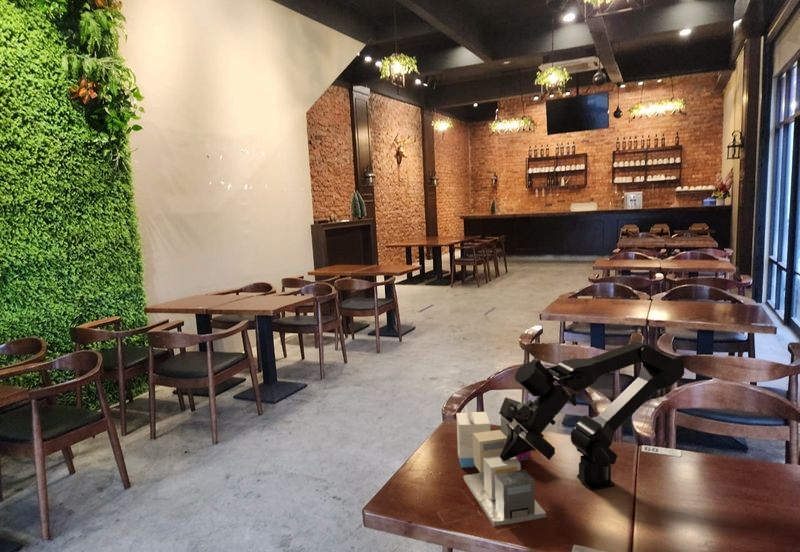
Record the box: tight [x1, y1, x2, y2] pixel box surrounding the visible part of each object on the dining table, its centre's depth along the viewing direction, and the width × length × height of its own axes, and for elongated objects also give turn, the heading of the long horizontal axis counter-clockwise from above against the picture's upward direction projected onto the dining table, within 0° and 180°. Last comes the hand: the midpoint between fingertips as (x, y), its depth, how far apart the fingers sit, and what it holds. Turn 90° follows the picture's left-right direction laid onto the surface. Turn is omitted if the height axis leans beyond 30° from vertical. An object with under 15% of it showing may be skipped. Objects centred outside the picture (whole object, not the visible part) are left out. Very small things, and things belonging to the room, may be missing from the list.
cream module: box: [484, 455, 522, 500], centre depth 120 cm, size 7×5×8 cm
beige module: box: [473, 429, 507, 473], centre depth 126 cm, size 7×5×8 cm
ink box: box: [455, 406, 492, 469], centre depth 139 cm, size 9×8×13 cm
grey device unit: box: [463, 469, 547, 527], centre depth 120 cm, size 12×20×9 cm, turn 11°
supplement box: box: [500, 414, 532, 463], centre depth 139 cm, size 6×6×12 cm
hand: (501, 459), depth 119 cm, fingers closed, pressing on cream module
